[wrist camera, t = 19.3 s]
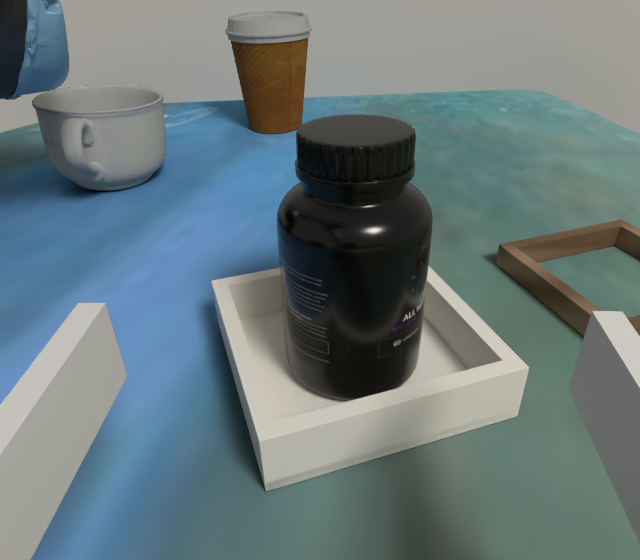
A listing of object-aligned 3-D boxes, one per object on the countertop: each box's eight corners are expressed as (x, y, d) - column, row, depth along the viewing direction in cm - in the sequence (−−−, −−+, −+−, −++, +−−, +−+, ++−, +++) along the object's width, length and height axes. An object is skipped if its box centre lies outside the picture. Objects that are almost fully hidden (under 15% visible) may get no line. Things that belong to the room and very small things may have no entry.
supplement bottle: (437, 397, 25) (469, 150, 19) (293, 415, 24) (275, 165, 18) (398, 312, 31) (412, 101, 24) (281, 325, 30) (264, 110, 24)
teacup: (94, 158, 56) (73, 79, 52) (191, 160, 55) (178, 79, 51) (12, 215, 45) (-23, 120, 41) (134, 220, 43) (110, 122, 39)
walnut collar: (495, 263, 36) (499, 244, 35) (616, 238, 39) (621, 219, 38) (607, 356, 28) (615, 333, 27) (750, 316, 31) (760, 294, 30)
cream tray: (218, 323, 31) (211, 280, 30) (403, 284, 34) (406, 243, 33) (265, 491, 22) (259, 441, 20) (517, 416, 25) (529, 367, 23)
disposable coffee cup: (235, 117, 68) (224, 12, 61) (309, 112, 69) (306, 9, 62) (236, 141, 60) (223, 23, 53) (320, 135, 61) (317, 19, 54)
